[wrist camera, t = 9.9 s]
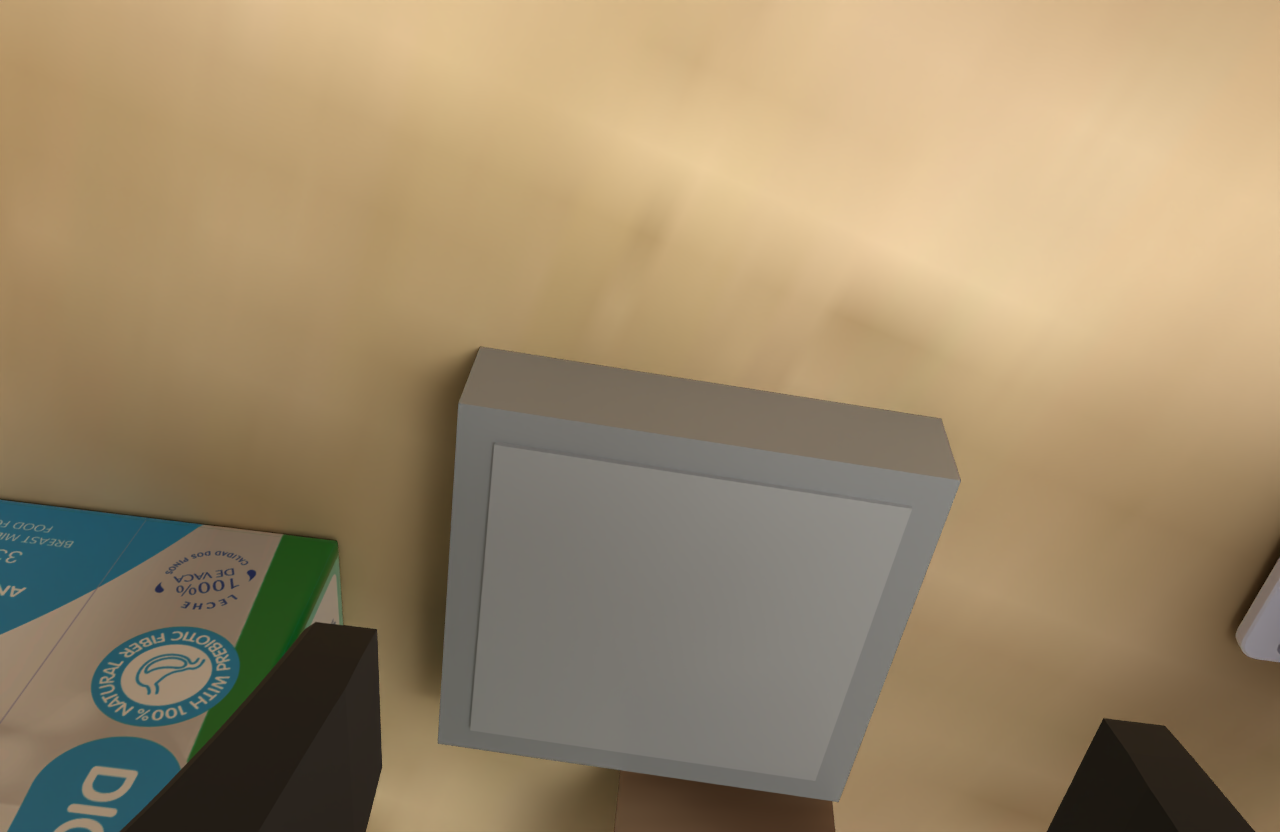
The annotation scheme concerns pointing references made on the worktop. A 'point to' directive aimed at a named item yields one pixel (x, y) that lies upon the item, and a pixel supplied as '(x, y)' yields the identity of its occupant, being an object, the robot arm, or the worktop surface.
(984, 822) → the worktop surface
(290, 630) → the milk carton
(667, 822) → the walnut block
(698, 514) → the coaster block
